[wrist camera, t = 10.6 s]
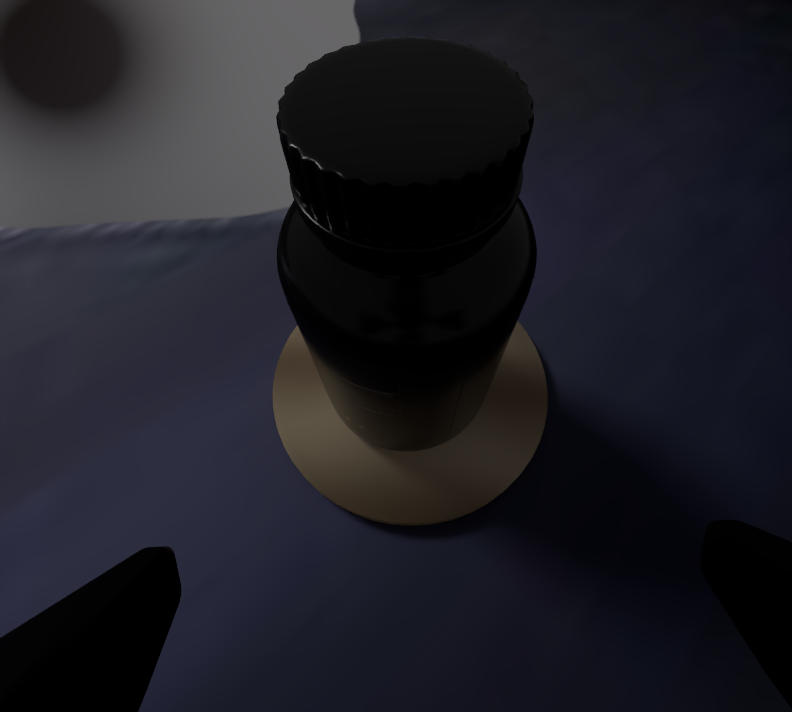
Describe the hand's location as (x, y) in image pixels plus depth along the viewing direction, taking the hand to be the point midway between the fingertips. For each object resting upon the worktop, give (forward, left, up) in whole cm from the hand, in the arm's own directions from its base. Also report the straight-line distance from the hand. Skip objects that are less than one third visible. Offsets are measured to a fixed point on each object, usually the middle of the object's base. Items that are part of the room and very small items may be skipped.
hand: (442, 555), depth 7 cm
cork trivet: (+8, 0, -9) cm, 12 cm away
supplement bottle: (+7, 0, -9) cm, 12 cm away
